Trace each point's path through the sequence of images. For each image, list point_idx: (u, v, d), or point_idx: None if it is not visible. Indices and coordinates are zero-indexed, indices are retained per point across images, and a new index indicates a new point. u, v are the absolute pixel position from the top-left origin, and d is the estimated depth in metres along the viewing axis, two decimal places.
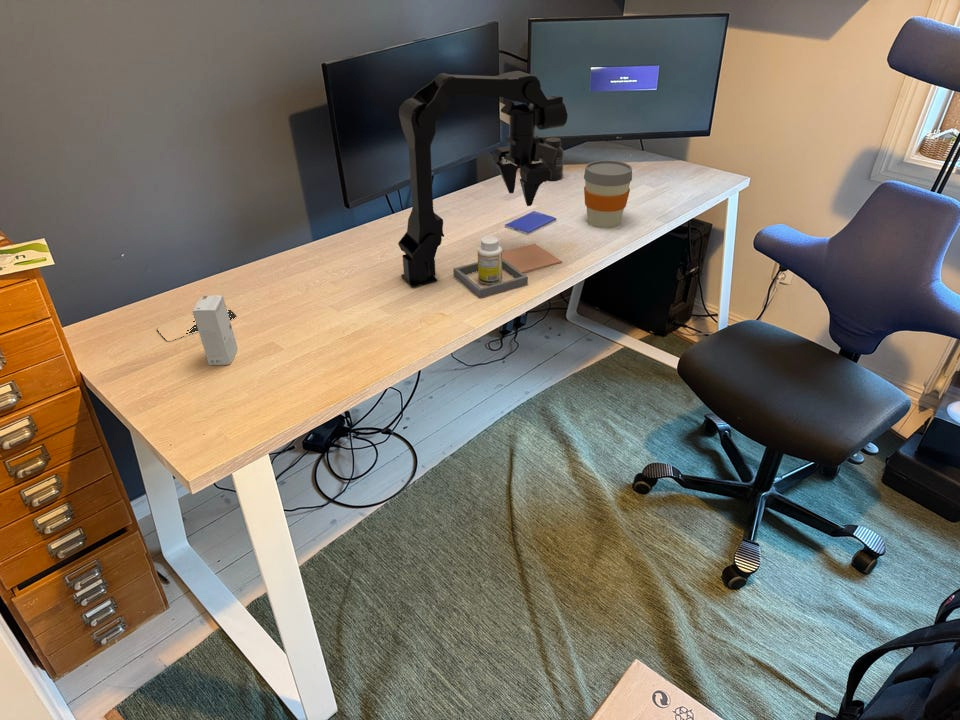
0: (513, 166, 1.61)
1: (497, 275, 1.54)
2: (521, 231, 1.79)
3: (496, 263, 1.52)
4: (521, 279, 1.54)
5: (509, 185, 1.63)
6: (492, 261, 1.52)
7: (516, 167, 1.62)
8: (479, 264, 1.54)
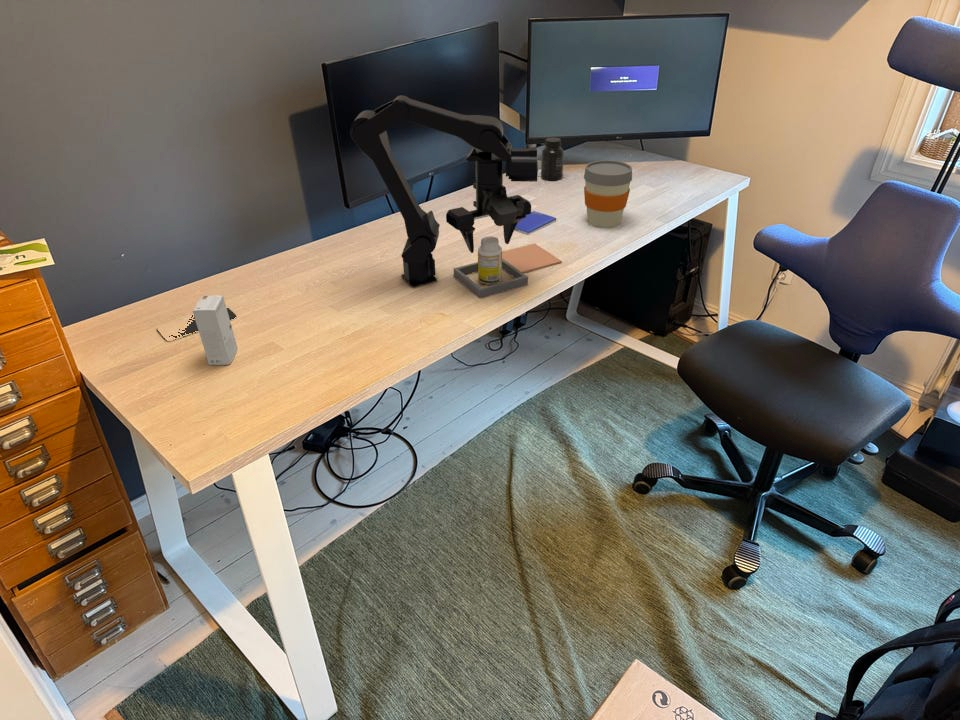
0: None
1: (497, 275, 1.54)
2: (521, 231, 1.79)
3: (496, 263, 1.52)
4: (521, 279, 1.54)
5: (505, 234, 1.54)
6: (492, 261, 1.52)
7: None
8: (479, 264, 1.54)
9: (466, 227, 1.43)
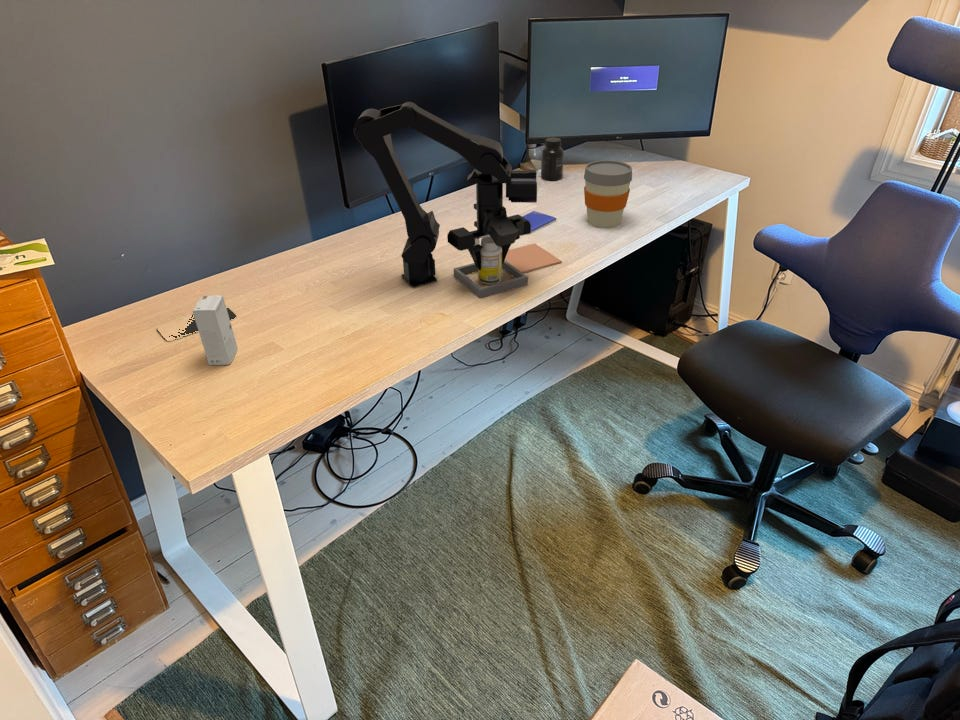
0: None
1: (497, 275, 1.54)
2: None
3: (496, 263, 1.52)
4: (521, 279, 1.54)
5: None
6: (492, 261, 1.52)
7: None
8: None
9: (467, 247, 1.46)
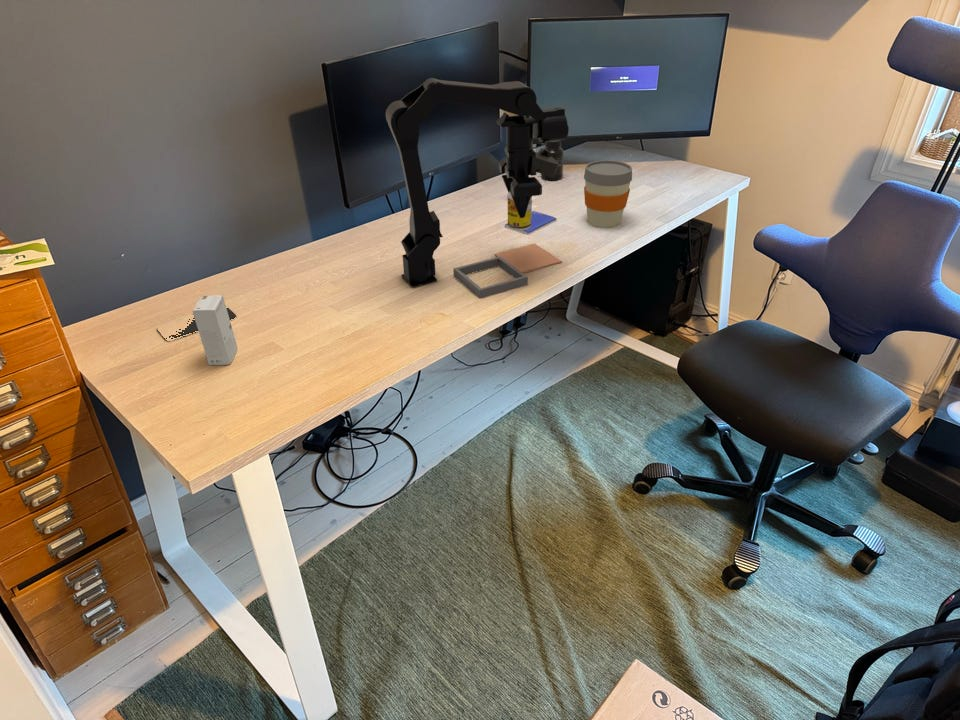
0: None
1: None
2: (521, 231, 1.80)
3: None
4: (521, 279, 1.54)
5: None
6: (531, 201, 1.54)
7: None
8: None
9: None
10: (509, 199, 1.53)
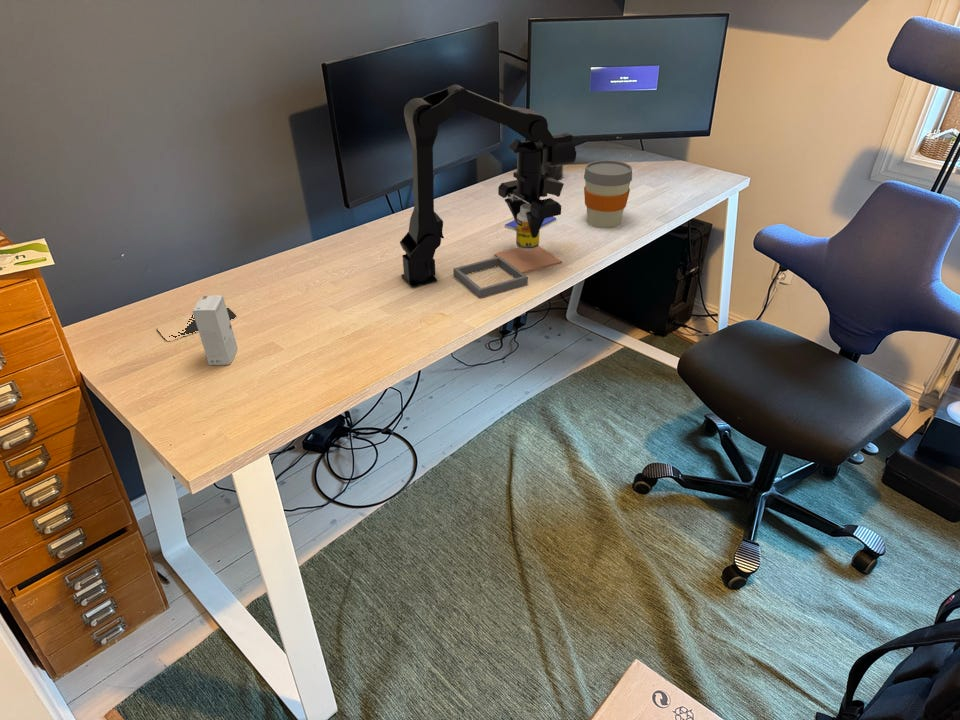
0: (523, 202, 1.62)
1: None
2: None
3: None
4: (521, 279, 1.54)
5: None
6: None
7: (525, 203, 1.62)
8: None
9: None
10: (521, 221, 1.59)
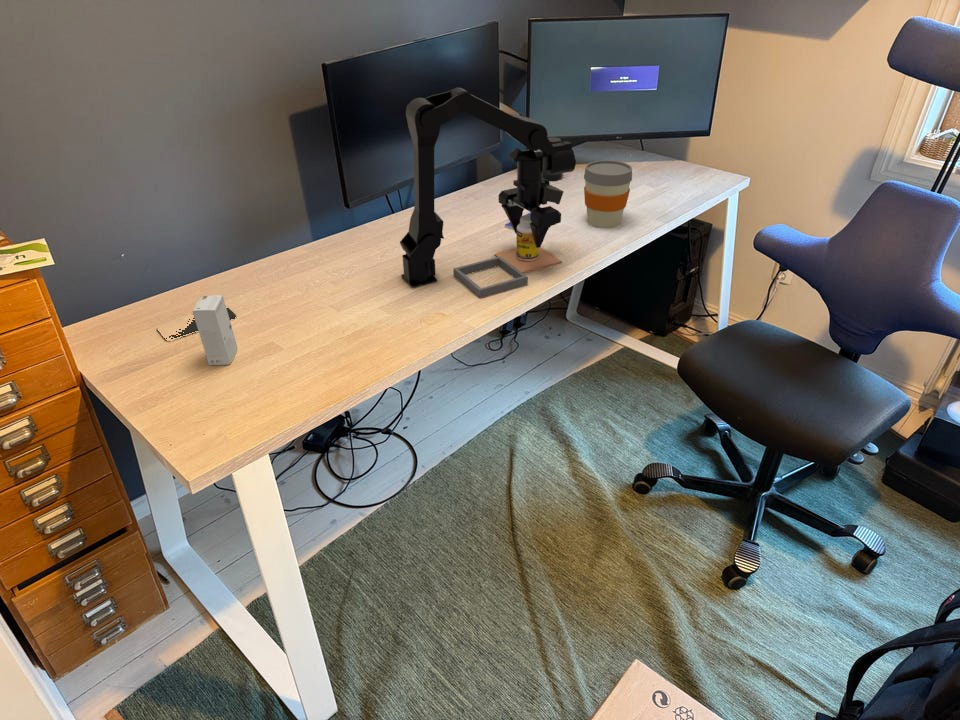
0: (519, 208, 1.64)
1: None
2: None
3: None
4: (521, 279, 1.54)
5: (516, 226, 1.66)
6: None
7: (522, 209, 1.65)
8: (533, 243, 1.61)
9: None
10: (521, 233, 1.60)
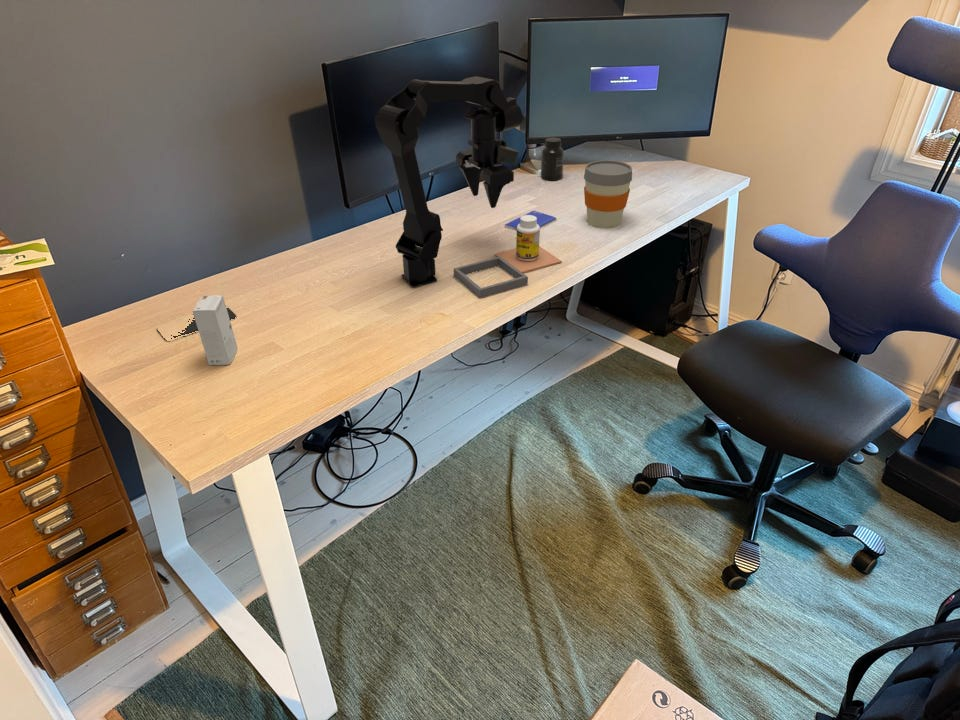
0: (476, 169, 1.65)
1: None
2: None
3: None
4: (521, 279, 1.54)
5: (473, 188, 1.66)
6: None
7: (479, 170, 1.65)
8: (533, 243, 1.62)
9: None
10: (521, 233, 1.60)
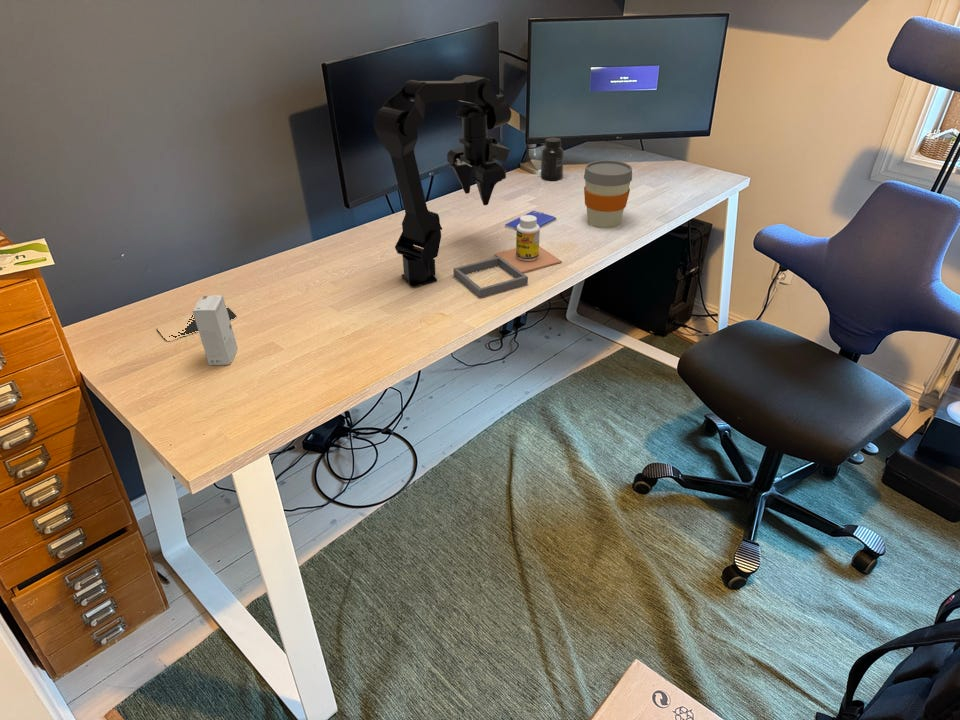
0: (468, 167, 1.65)
1: None
2: None
3: None
4: (521, 279, 1.54)
5: (465, 185, 1.67)
6: None
7: (471, 168, 1.66)
8: (533, 243, 1.62)
9: None
10: (521, 233, 1.60)
